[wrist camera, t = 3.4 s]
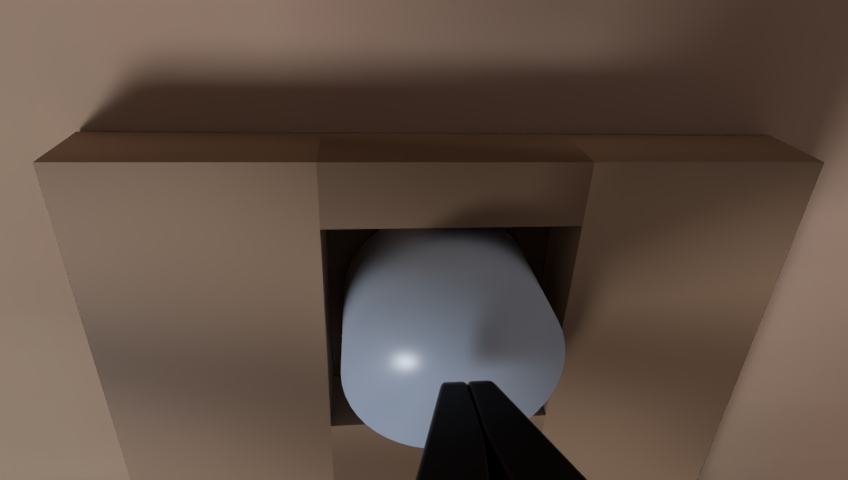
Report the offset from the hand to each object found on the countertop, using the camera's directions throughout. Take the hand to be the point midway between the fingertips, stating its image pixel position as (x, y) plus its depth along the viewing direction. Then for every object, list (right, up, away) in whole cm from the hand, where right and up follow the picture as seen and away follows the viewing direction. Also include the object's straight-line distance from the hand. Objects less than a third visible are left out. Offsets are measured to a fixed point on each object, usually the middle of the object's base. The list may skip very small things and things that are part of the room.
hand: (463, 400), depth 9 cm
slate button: (0, +1, +3) cm, 3 cm away
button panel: (-1, -6, +7) cm, 10 cm away
